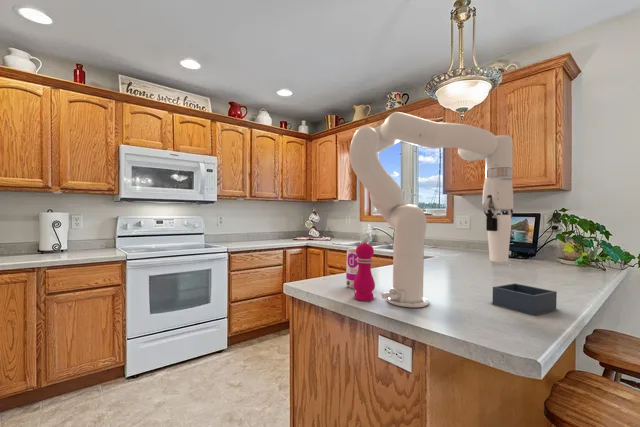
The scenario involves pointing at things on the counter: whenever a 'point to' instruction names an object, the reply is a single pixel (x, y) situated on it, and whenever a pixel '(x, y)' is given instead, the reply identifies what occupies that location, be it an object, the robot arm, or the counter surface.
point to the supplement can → (351, 266)
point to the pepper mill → (364, 272)
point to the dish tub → (524, 298)
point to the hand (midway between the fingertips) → (498, 230)
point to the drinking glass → (500, 239)
